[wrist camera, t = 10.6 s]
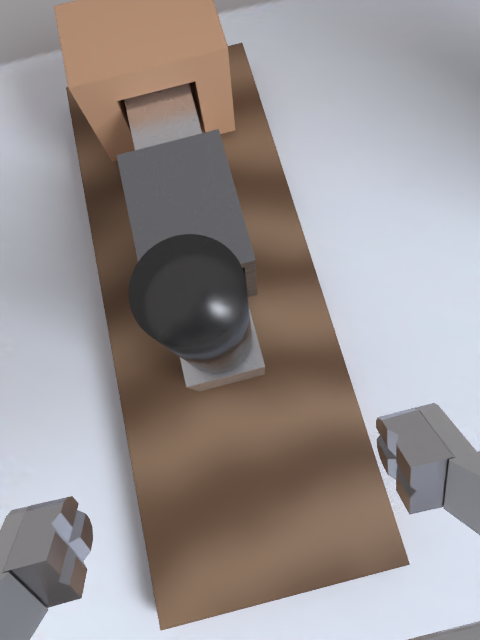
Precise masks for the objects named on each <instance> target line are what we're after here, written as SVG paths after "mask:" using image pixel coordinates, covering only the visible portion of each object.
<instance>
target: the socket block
mask: <svg viewBox="0 0 480 640" xmlns="http://www.w3.org/2000/svg"><path fill="white" fill-rule="evenodd" d="M54 9H55V14H56V20H57V26H58V32H59V37H60V43H61V49H62V54H63V60H64V66H65V72H66V77H67V83H68V88H69V90H70V92H71V93H72V95H73V97H74V98H75V100H76V102H77V103H78V105H79V107H80V108H81V110H82V112H83V114H84V115H85V117H86V119H87V120H88V122H89V124H90V125H91V127H92V129H93V130H94V132H95V134H96V136H97V137H98V139H99V141H100V142H101V144H102V146H103V147H104V149H105V151H106V152H107V154H108V156H109V157H110V159H111V161H112V162H113V161H117V155H119V154H123V153H127V152H131V151H135V148H134V143H133V139H132V134H131V129H130V125H129V120H128V115H127V111H126V106H125V102H124V99H128V98H132V97H136V96H140V95H144V94H147V93H151V92H155V91H159V90H163V89H167V88H171V87H175V86H179V85H183V84H187V83H189V86H190V90H191V93H192V97H193V101H194V105H195V108H196V112H197V116H198V119H199V123H200V127H201V131H202V133H205V132H209V131H213V130H217V129H219V132H220V134H223V133H227V132H231V131H235V120H234V109H233V98H232V87H231V76H230V65H229V54H228V46H227V43H226V40H225V37H224V33H223V30H222V27H221V24H220V20H219V17H218V14H217V11H216V7H215V5H214V1H213V0H76V1H72V2H69V3H65V4H61V5H57V6H54Z"/></svg>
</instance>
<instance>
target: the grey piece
mask: <svg viewBox="0 0 480 640" xmlns="http://www.w3.org/2000/svg"><path fill="white" fill-rule="evenodd" d="M124 102H125V106H126V111H127V115H128V120H129V125H130V129H131V134H132V139H133V143H134V148H135V150H139V149H142V148H146V147H150V146H154V145H158V144H162V143H166V142H170V141H174V140H178V139H182V138H186V137H189V136H193V135H197V134H201V133H202V131H201V127H200V123H199V119H198V116H197V112H196V108H195V105H194V101H193V97H192V93H191V90H190V86H189V83H187V84H183V85H179V86H175V87H171V88H167V89H163V90H159V91H155V92H151V93H147V94H144V95H140V96H136V97H132V98H128V99H124ZM128 296H129V304H130V308H131V311H132V314H133V316H134V318H135V320H136V321H137V323H138V325H139V326H140V327H141V328H142V329H143V330H144V331H145V332H146V333H147V334H148V335H149V336H151V337H152V338H153V339H155V340H156V341H158V342H159V343H161V344H162V345H164V346H165V347H166V348H168V349H169V350H171V351H172V352H174V353H175V354H176V355H178V356H179V357H180V360H181V365H182V369H183V374H184V379H185V383H186V387H187V388H190V389H193V390H196V391H199V392H200V391H203V390H207V389H211V388H215V387H219V386H223V385H226V384H230V383H234V382H238V381H242V380H246V379H249V378H253V377H257V376H261V375H264V374H265V364H264V360H263V357H262V353H261V349H260V346H259V342H258V338H257V334H256V331H255V327H254V323H253V320H252V316H251V312H250V309H249V305H248V296H247V287H246V280H245V275H244V271H243V268H242V266H241V264H240V262H239V260H238V259H237V257H236V256H235V255H234V253H233V252H232V251H231V250H230V249H229V248H227V247H226V246H225V245H224V244H222V243H221V242H219V241H217V240H215V239H213V238H210V237H207V236H203V235H198V234H183V235H177V236H173V237H170V238H167V239H165V240H163V241H161V242H159V243H157V244H156V245H154V246H153V247H152V248H150V249H149V250H148V251H147V252H146V253H145V254H144V255H143V256H142V257H141V259H140V260H139V261H138V263H137V265H136V266H135V268H134V270H133V273H132V275H131V279H130V283H129V295H128Z"/></svg>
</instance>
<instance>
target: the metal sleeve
mask: <svg viewBox="0 0 480 640" xmlns="http://www.w3.org/2000/svg"><path fill="white" fill-rule="evenodd" d="M117 160H118V165H119V170H120V175H121V180H122V185H123V190H124V195H125V200H126V205H127V210H128V215H129V220H130V224H131V229H132V234H133V239H134V244H135V249H136V254H137V259H138V261H139V260H140V259H141V257H142V256H143V255H144V254H145V253H146V252H147V251H148V250H149V249H150V248H152V247H153V246H154V245H156V244H157V243H159V242H161V241H163V240H165V239H167V238H170V237H173V236H177V235H183V234H198V235H203V236H207V237H210V238H213V239H215V240H217V241H219V242H221V243H222V244H224V245H225V246H226V247H227V248H229V249H230V250H231V251H232V252H233V253H234V255H235V256H236V257H237V259H238V260H239V262H240V264H241V266H242V268H243V271H244V275H245V280H246V287H247V296H248V297H251V296H255V295H257V281H256V259H255V256H254V252H253V248H252V245H251V241H250V238H249V234H248V231H247V227H246V224H245V220H244V217H243V213H242V210H241V206H240V203H239V199H238V195H237V192H236V188H235V185H234V181H233V178H232V174H231V171H230V167H229V164H228V160H227V157H226V153H225V149H224V146H223V142H222V139H221V135H220V132H219V129H217V130H213V131H209V132H205V133H201V134H197V135H193V136H189V137H186V138H182V139H178V140H174V141H170V142H166V143H162V144H158V145H154V146H150V147H146V148H142V149H139V150H135V151H131V152H127V153H123V154H119V155H117Z"/></svg>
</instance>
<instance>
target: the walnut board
mask: <svg viewBox="0 0 480 640" xmlns="http://www.w3.org/2000/svg"><path fill="white" fill-rule="evenodd" d="M228 54H229V65H230V76H231V87H232V98H233V109H234V120H235V131H231V132H227V133H223V134H220V135H221V139H222V142H223V146H224V149H225V153H226V157H227V160H228V164H229V167H230V171H231V174H232V178H233V181H234V185H235V188H236V192H237V195H238V199H239V203H240V206H241V210H242V213H243V217H244V220H245V224H246V227H247V231H248V234H249V238H250V241H251V245H252V248H253V252H254V256H255V259H256V281H257V295H255V296H251V297H248V305H249V309H250V312H251V316H252V320H253V323H254V327H255V331H256V334H257V338H258V342H259V346H260V349H261V353H262V357H263V360H264V364H265V374H264V375H261V376H257V377H253V378H249V379H246V380H242V381H238V382H234V383H230V384H226V385H223V386H219V387H215V388H211V389H207V390H203V391H200V392H199V391H196V390H193V389H190V388H187V387H186V383H185V379H184V374H183V369H182V365H181V360H180V357H179V356H178V355H176V354H175V353H174V352H172V351H171V350H169V349H168V348H166V347H165V346H164V345H162V344H161V343H159V342H158V341H156V340H155V339H153V338H152V337H151V336H149V335H148V334H147V333H146V332H145V331H144V330H143V329H142V328H141V327H140V326H139V325H138V323H137V321H136V320H135V318H134V316H133V314H132V311H131V308H130V304H129V296H128V295H129V283H130V279H131V275H132V273H133V270H134V268H135V266H136V265H137V263H138V259H137V254H136V249H135V244H134V239H133V234H132V229H131V224H130V220H129V215H128V210H127V205H126V200H125V195H124V190H123V185H122V180H121V175H120V170H119V165H118V160H117V161H113V162H112V161H111V159H110V157H109V156H108V154H107V152H106V151H105V149H104V147H103V146H102V144H101V142H100V141H99V139H98V137H97V136H96V134H95V132H94V130H93V129H92V127H91V125H90V124H89V122H88V120H87V119H86V117H85V115H84V114H83V112H82V110H81V108H80V107H79V105H78V103H77V102H76V100H75V98H74V97H73V95H72V93H71V92H70V90H69V88H68V87H66V89H67V95H68V101H69V106H70V112H71V118H72V124H73V129H74V135H75V141H76V147H77V153H78V158H79V164H80V170H81V176H82V181H83V187H84V193H85V199H86V204H87V210H88V216H89V222H90V227H91V233H92V239H93V245H94V250H95V256H96V262H97V268H98V273H99V279H100V285H101V291H102V296H103V302H104V308H105V314H106V319H107V325H108V331H109V337H110V343H111V348H112V354H113V360H114V366H115V371H116V377H117V383H118V389H119V394H120V400H121V406H122V412H123V417H124V423H125V429H126V435H127V440H128V446H129V452H130V458H131V463H132V469H133V475H134V481H135V486H136V492H137V498H138V504H139V510H140V515H141V521H142V527H143V533H144V538H145V544H146V550H147V556H148V561H149V567H150V573H151V579H152V584H153V590H154V596H155V602H156V607H157V613H158V619H159V625H160V630H165V629H169V628H172V627H176V626H180V625H184V624H187V623H191V622H195V621H199V620H202V619H206V618H210V617H214V616H217V615H221V614H225V613H229V612H233V611H236V610H240V609H244V608H248V607H251V606H255V605H259V604H263V603H266V602H270V601H274V600H278V599H282V598H285V597H289V596H293V595H297V594H300V593H304V592H308V591H312V590H315V589H319V588H323V587H327V586H331V585H334V584H338V583H342V582H346V581H349V580H353V579H357V578H361V577H364V576H368V575H372V574H376V573H380V572H383V571H387V570H391V569H395V568H398V567H402V566H406V565H410V564H409V561H408V558H407V555H406V551H405V548H404V545H403V542H402V539H401V536H400V533H399V530H398V526H397V523H396V520H395V517H394V514H393V511H392V508H391V505H390V502H389V498H388V495H387V492H386V489H385V486H384V483H383V480H382V477H381V474H380V470H379V467H378V464H377V461H376V458H375V455H374V452H373V449H372V446H371V442H370V439H369V436H368V433H367V430H366V427H365V424H364V421H363V418H362V414H361V411H360V408H359V405H358V402H357V399H356V396H355V393H354V390H353V386H352V383H351V380H350V377H349V374H348V371H347V368H346V365H345V362H344V358H343V355H342V352H341V349H340V346H339V343H338V340H337V337H336V334H335V330H334V327H333V324H332V321H331V318H330V315H329V312H328V309H327V306H326V302H325V299H324V296H323V293H322V290H321V287H320V284H319V281H318V277H317V274H316V271H315V268H314V265H313V262H312V259H311V256H310V253H309V249H308V246H307V243H306V240H305V237H304V234H303V231H302V228H301V225H300V221H299V218H298V215H297V212H296V209H295V206H294V203H293V200H292V197H291V193H290V190H289V187H288V184H287V181H286V178H285V175H284V172H283V169H282V165H281V162H280V159H279V156H278V153H277V150H276V147H275V144H274V141H273V137H272V134H271V131H270V128H269V125H268V122H267V119H266V116H265V113H264V109H263V106H262V103H261V100H260V97H259V94H258V91H257V88H256V85H255V81H254V78H253V75H252V72H251V69H250V66H249V63H248V60H247V57H246V53H245V50H244V47H243V44H242V43H239V44H235V45H231V46H228Z"/></svg>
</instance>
